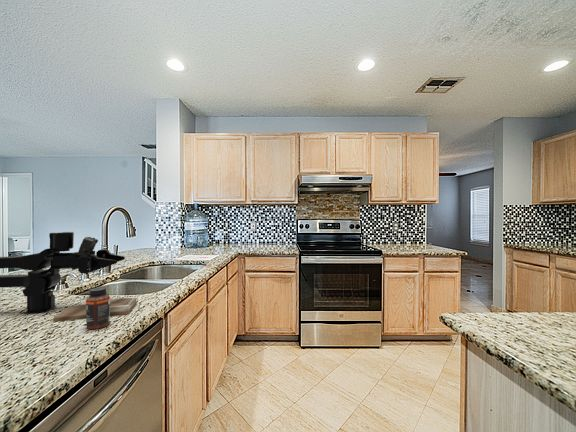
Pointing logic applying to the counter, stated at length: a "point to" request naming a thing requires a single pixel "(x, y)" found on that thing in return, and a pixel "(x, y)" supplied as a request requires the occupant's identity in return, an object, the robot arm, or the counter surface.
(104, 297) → the supplement bottle
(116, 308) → the walnut board
